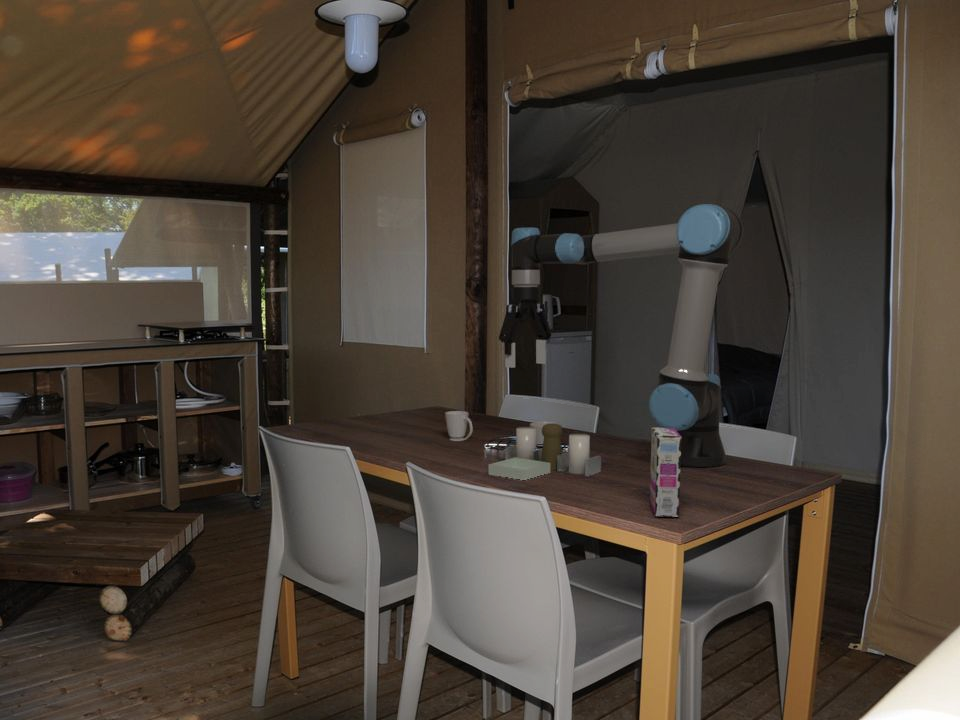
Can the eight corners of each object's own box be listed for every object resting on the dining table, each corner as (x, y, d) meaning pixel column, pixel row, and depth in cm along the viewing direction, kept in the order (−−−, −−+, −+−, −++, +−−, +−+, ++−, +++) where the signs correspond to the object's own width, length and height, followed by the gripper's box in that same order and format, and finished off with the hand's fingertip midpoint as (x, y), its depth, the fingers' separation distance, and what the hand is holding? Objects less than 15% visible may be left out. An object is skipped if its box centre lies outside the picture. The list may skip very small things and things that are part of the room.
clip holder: (600, 472, 208) (601, 455, 208) (587, 476, 204) (588, 459, 203) (519, 459, 224) (519, 444, 223) (505, 462, 219) (505, 447, 219)
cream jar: (593, 471, 209) (593, 435, 208) (582, 475, 205) (582, 438, 204) (575, 468, 212) (576, 433, 211) (564, 472, 208) (565, 435, 207)
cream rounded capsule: (539, 462, 219) (539, 428, 218) (528, 466, 215) (528, 430, 214) (523, 460, 222) (524, 426, 221) (512, 463, 218) (512, 428, 217)
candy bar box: (680, 519, 167) (682, 436, 165) (654, 518, 167) (656, 436, 166) (673, 504, 178) (674, 426, 176) (649, 503, 178) (650, 426, 177)
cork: (548, 470, 210) (548, 426, 209) (535, 466, 215) (535, 423, 214) (568, 468, 212) (569, 424, 211) (555, 463, 218) (555, 421, 217)
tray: (550, 473, 207) (550, 462, 207) (524, 480, 199) (524, 470, 199) (515, 467, 214) (515, 457, 214) (488, 474, 206) (488, 464, 205)
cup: (458, 436, 257) (457, 410, 256) (480, 441, 250) (480, 413, 249) (440, 439, 252) (440, 412, 251) (462, 444, 245) (462, 416, 244)
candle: (561, 443, 245) (561, 422, 245) (561, 449, 236) (561, 427, 236) (530, 443, 246) (530, 421, 246) (529, 449, 237) (529, 426, 237)
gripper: (542, 286, 239) (542, 361, 241) (484, 286, 220) (485, 368, 222) (564, 285, 234) (564, 362, 236) (507, 286, 216) (508, 369, 217)
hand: (526, 365), depth 229 cm, fingers open, 13 cm apart
